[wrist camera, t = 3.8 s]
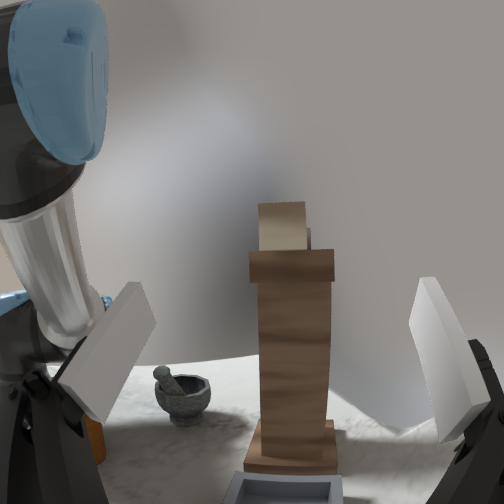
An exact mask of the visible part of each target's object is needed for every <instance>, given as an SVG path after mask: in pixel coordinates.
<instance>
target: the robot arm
mask: <svg viewBox="0 0 504 504" xmlns="http://www.w3.org/2000/svg"><path fill="white" fill-rule="evenodd" d="M108 53H109V51H108V30H107V24H106V19H105V15H104V12H103V10H102V9H101V7H100V6H99V5H98V4H97V3H96V2H95V1H93V0H26V1H22V2H17V3H13V4H10V5H6V6H2V7H0V242H1V244H2V246H3V248H4V250H5V253H6V255H7V257H8V259H9V261H10V263H11V264H12V266H13V268H14V270H15V272H16V274H17V276H18V277H19V279H20V281H21V283H22V285H23V286H24V288H25V290H19V291H14V292H9V293H4V294H0V504H109V502H108V499H107V497H106V494H105V491H104V488H103V485H102V482H101V479H100V476H99V473H98V469H97V466H96V462H95V459H94V455H93V452H92V448H91V444H90V440H89V435H88V431H87V427H86V422H85V420H84V418H83V417H82V416H83V414H84V412H85V413H86V414H87V415H88V416H89V417H90V418H91V419H92V420H95V421H97V422H100V423H103V424H105V422H106V420H107V417H108V415H109V413H110V411H111V409H112V407H113V405H114V403H115V401H116V399H117V397H118V395H119V393H120V391H121V389H122V387H123V386H124V384H125V382H126V380H127V378H128V376H129V374H130V372H131V370H132V368H133V366H134V364H135V362H136V360H137V359H138V357H139V355H140V353H141V351H142V349H143V347H144V346H145V344H146V342H147V340H148V338H149V336H150V334H151V333H152V331H153V329H154V327H155V325H156V324H157V322H156V320H155V318H154V315H153V313H152V310H151V308H150V305H149V303H148V300H147V298H146V295H145V293H144V290H143V287H142V285H141V283H140V282H128V283H127V284H126V286H125V287H124V288H123V289H122V291H121V292H120V293H119V295H118V296H117V297H116V299H115V300H114V301H113V302H112V299H111V298H110V297H109V296H104V295H99V294H98V292H97V291H96V290H95V289H94V288H93V287H92V286H91V285H89V283H88V279H87V274H86V270H85V266H84V261H83V256H82V251H81V246H80V241H79V236H78V229H77V223H76V216H75V209H74V202H73V194H72V188H73V187H74V186H75V185H76V183H77V182H78V181H79V179H80V177H81V176H82V174H83V172H84V169H85V165H86V161H90V160H92V159H94V158H95V157H96V156H97V155H98V153H99V152H100V150H101V147H102V143H103V139H104V131H105V124H106V113H107V110H106V105H107V102H106V101H107V98H106V96H107V92H108V61H109V59H108V58H109V54H108ZM409 326H410V329H411V332H412V335H413V338H414V341H415V345H416V347H417V351H418V354H419V358H420V361H421V365H422V368H423V372H424V375H425V379H426V383H427V387H428V391H429V395H430V399H431V403H432V408H433V412H434V417H435V422H436V427H437V432H438V437H439V443H443V442H447V441H451V440H455V439H457V438H458V437H459V436H460V435H461V434H462V433H463V432H464V437H465V439H464V440H463V441H462V442H461V443H460V444H459V445H458V446H457V447H456V448H455V450H454V451H455V452H456V451H457V450H458V449H459V450H458V452H457V453H456V455H455V457H454V459H453V461H452V463H451V464H450V466H449V468H448V470H447V471H446V473H445V475H444V476H443V478H442V480H441V481H440V483H439V484H438V486H437V487H436V489H435V491H434V492H433V494H432V495H431V496H430V498H429V499H428V501H427V502H426V504H504V393H503V391H502V388H501V385H500V383H499V380H498V378H497V375H496V373H495V371H494V369H493V368H492V367H493V366H492V363H491V361H490V360H489V357H488V354H487V352H486V350H485V348H484V347H483V346H482V344H481V343H480V342H479V341H478V340H477V339H475V340H468V341H467V339H466V336H465V334H464V332H463V330H462V328H461V326H460V324H459V322H458V320H457V318H456V316H455V314H454V312H453V310H452V308H451V306H450V304H449V302H448V300H447V298H446V296H445V294H444V293H443V291H442V289H441V287H440V285H439V284H438V282H437V280H436V278H435V277H420V281H419V285H418V289H417V293H416V298H415V302H414V305H413V309H412V313H411V316H410V320H409ZM46 363H63V364H62V366H61V367H60V369H59V370H58V372H57V373H56V375H55V376H54V378H53V379H52V381H50V380H49V378H51V377H50V375H49V373H48V370H47V366H46Z"/></svg>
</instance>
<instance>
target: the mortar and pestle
mask: <svg viewBox="0 0 504 504" xmlns="http://www.w3.org/2000/svg"><path fill="white" fill-rule="evenodd" d="M153 376H154V378H155V379H156V380H158V381H157V382H156V383H155V395H156V399H157V401H158V404H159V405H160V406H161V408H162V409H163V410H164V411H166V412H168V413H169V414H170V421H171V422H172V423H174V424H175V425H178V426H187V427H188V426H192V425H196V424H198V423H200V422H201V421H202V420H203V414H202V411H203V410H204V409H205V408H207V406H208V404H209V402H210V398H211V389H210V384H209V381H208V380H207V379H205V378H202V377H200V376H198V375H185V374H180V375H174V376H172V375H171V374H170V369H169V368H168V367H166V366H165V365H164V366H159V367H157V368H155V370H154V371H153Z"/></svg>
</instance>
